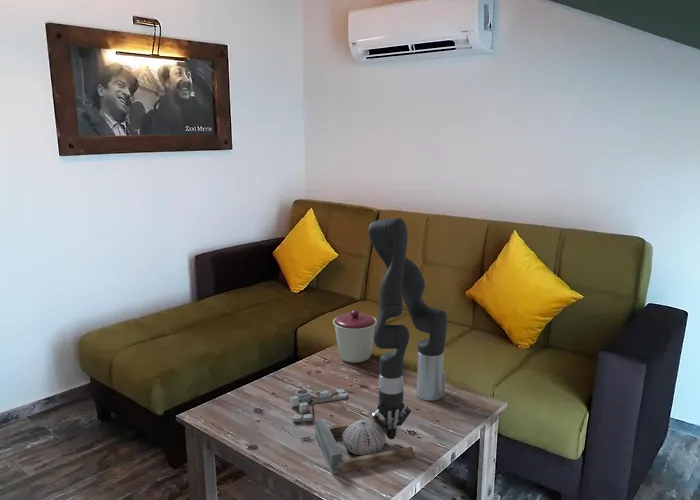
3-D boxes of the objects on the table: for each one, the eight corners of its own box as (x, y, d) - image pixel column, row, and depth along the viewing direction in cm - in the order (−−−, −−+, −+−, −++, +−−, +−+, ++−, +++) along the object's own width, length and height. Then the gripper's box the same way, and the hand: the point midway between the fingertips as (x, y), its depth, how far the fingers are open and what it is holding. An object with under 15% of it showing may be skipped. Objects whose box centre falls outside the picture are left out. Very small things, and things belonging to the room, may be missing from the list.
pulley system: (270, 416, 195) (303, 427, 187) (269, 403, 195) (303, 414, 186) (320, 388, 217) (352, 397, 208) (320, 376, 216) (352, 385, 207)
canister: (324, 359, 238) (323, 311, 233) (352, 345, 251) (352, 300, 246) (358, 371, 226) (357, 321, 221) (385, 356, 240) (385, 309, 235)
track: (389, 424, 188) (389, 407, 187) (413, 458, 169) (413, 440, 168) (315, 437, 181) (315, 420, 180) (332, 474, 162) (331, 455, 161)
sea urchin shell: (392, 441, 178) (392, 418, 176) (373, 464, 167) (373, 440, 165) (355, 430, 185) (355, 408, 183) (334, 452, 173) (333, 428, 171)
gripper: (406, 378, 178) (405, 428, 183) (366, 385, 175) (366, 435, 179) (416, 389, 171) (415, 440, 176) (374, 396, 168) (375, 448, 172)
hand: (390, 438), depth 177 cm, fingers closed
